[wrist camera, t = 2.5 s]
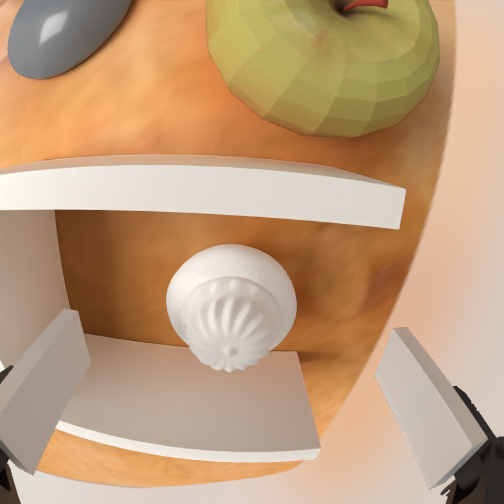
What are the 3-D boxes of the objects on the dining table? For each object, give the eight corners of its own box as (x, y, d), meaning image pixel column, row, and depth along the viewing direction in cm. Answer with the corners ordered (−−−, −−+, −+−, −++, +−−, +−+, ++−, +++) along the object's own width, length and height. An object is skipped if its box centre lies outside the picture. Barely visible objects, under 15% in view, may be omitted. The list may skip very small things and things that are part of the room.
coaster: (32, -20, 8) (29, -22, 7) (151, -58, 9) (149, -62, 8) (1, 93, 11) (-3, 93, 11) (121, 64, 12) (117, 62, 12)
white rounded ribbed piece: (173, 308, 17) (145, 390, 11) (189, 212, 15) (155, 264, 9) (269, 327, 18) (283, 413, 12) (299, 238, 16) (338, 302, 10)
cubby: (38, 160, 14) (-57, 184, 6) (327, 165, 15) (406, 189, 7) (67, 341, 18) (20, 414, 11) (293, 364, 19) (315, 458, 12)
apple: (400, 132, 14) (501, 137, 7) (232, 154, 14) (225, 163, 7) (362, -12, 11) (427, -74, 3) (199, -4, 11) (174, -91, 3)
